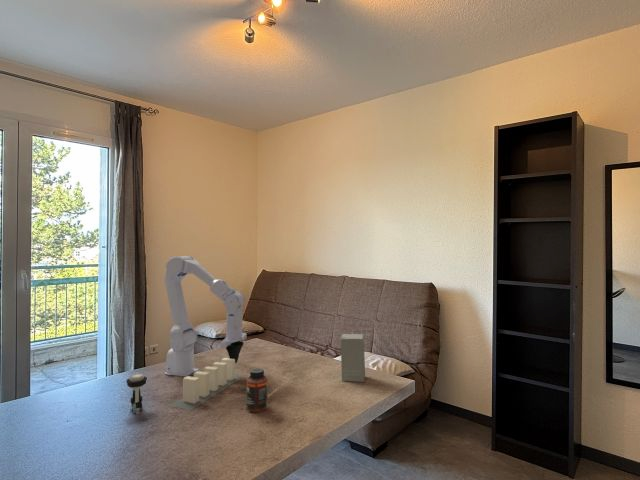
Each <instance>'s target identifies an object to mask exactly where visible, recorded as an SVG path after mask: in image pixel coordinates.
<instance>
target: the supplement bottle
mask: <svg viewBox="0 0 640 480" xmlns="http://www.w3.org/2000/svg"><path fill="white" fill-rule="evenodd" d="M249 372H250V373H249V374H250V376H249V377H247V379H246V410H247V411H249V412H250V413H261V412H263V411H265V410H267V408H268V379H267V377H266V376H265V370H264V368H260V367H257V368H256V367H255V368H251V369H250V371H249Z"/></svg>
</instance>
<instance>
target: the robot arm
mask: <svg viewBox="0 0 640 480" xmlns="http://www.w3.org/2000/svg"><path fill="white" fill-rule="evenodd" d="M165 268H166V271H165V276H164V283H165V288H166V289H165V290H166V295H167V299H168V304H169V305H168V306H169V310H170V314H171V318H172V319H171V321H172V323H173V326H172V328H171V330H170V332H169V334H170V339H169V346H170V347H171V348H170V349H169V350H168V351H167V353H166V358H165V359H166V360H165V361H166V363H165V368H166V369H165V370H166V371H165V372H164V374H165V375H168V376H175V377H176V376H179V377H187V376H190V375H191V374H194V373H195V372H197V371H200V369H199V368H195V367H194V366H195V364H194V363H195V362H194V361H195V360H194V359H195V343H197V341H198V334H197V331H196V330H195V328H194V325H193V324H192V323H191V322H190V321H189V316H188V311H187V307H186V302H185V297H184V293H183V287H182V281H183V279H184V278H185V277H186V275H188V274H190V275H194V276H196V278H198V279H200V280H201V281H202V282H204V283H205V284H206V285H208V286H209V290H210V292H211V293H212V294H213V295H215V296H216V297H217V298H218V299H219V300H221V302H223V305H224V308H226V321H225V322H226V324H225V325H226V327H225V329H226V330H225V331H226V332H225V333H226V335H225V338H224V339H223V340H222V341H220V348H224V349H226V351H227V354H228V356H229V357H228V358H230V359H235V364H237V363H238V361H239V357H240V356H239V355H240V353H241V350H242V348H243V346H244V341H245V340H246V339H247V335H248V334H247V333H245V332H243V305H244V304H245V300H246V298H245V296H244V294H243V293H242V292H241V291H237V290H236V288H232V287H231V286H230V285H229V284H227V280H225V279H220V278H219V279H217V278H216V277H214V276H213V275H212V274H211V273H210V272H209V271H208V270H207V269H205V267H204V266H202V265H201V264H200V262H199V261H198V260H196V259H195V258H194V257H193V256H191V255H183V256H182V255H181V256H177V255H176V256H175V255H174V256H172V257H170V258H169V259H168V261H167V262H166V264H165Z"/></svg>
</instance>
